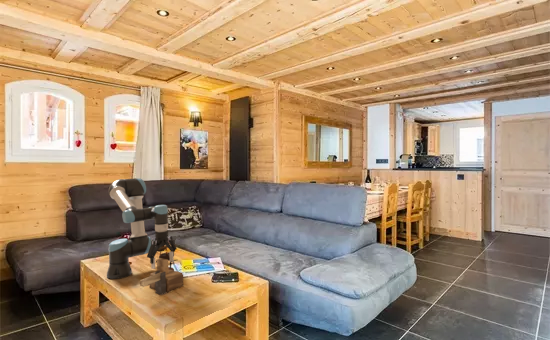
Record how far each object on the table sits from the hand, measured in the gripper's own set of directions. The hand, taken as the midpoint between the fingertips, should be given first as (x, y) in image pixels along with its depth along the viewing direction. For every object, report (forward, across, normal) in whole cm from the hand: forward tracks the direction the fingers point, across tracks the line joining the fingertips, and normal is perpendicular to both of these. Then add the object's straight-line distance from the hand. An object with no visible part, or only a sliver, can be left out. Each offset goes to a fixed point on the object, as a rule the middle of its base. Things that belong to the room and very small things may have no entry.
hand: (162, 265), depth 191 cm
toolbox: (+13, -2, -3) cm, 13 cm away
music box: (+13, +14, +13) cm, 23 cm away
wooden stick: (+4, -13, -7) cm, 16 cm away
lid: (+6, 0, -3) cm, 6 cm away
